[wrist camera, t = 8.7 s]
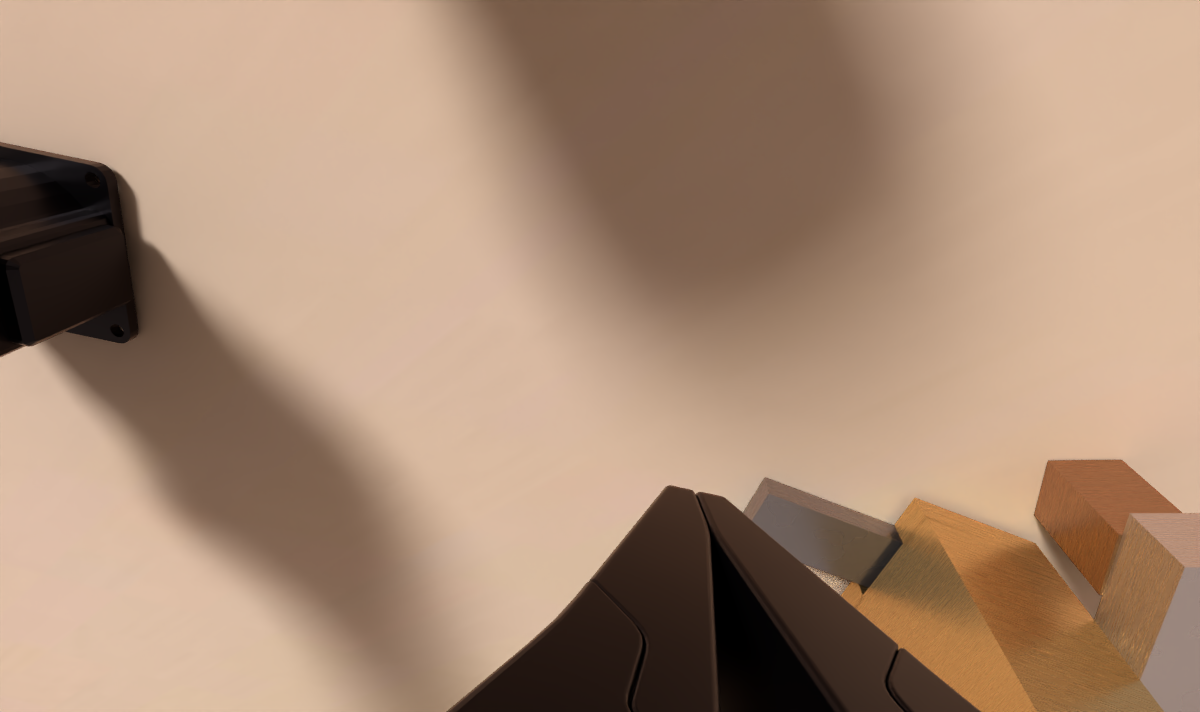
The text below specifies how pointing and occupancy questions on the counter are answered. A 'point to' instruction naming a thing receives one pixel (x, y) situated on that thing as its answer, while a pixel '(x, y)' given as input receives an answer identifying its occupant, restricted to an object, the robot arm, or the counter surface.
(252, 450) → the counter surface
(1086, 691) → the tan rectangular block
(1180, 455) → the counter surface
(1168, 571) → the rig
